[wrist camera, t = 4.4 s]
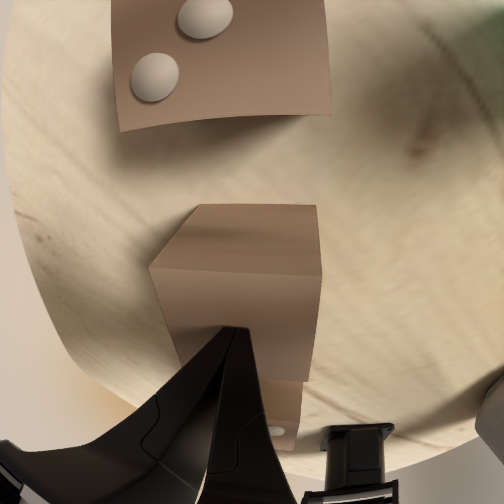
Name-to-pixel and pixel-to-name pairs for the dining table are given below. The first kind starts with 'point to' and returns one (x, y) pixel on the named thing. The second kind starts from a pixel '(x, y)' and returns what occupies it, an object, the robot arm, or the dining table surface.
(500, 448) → the coffee pot
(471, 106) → the dining table surface
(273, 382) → the two dot block
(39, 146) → the dining table surface
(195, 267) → the plain block
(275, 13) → the three dot block
